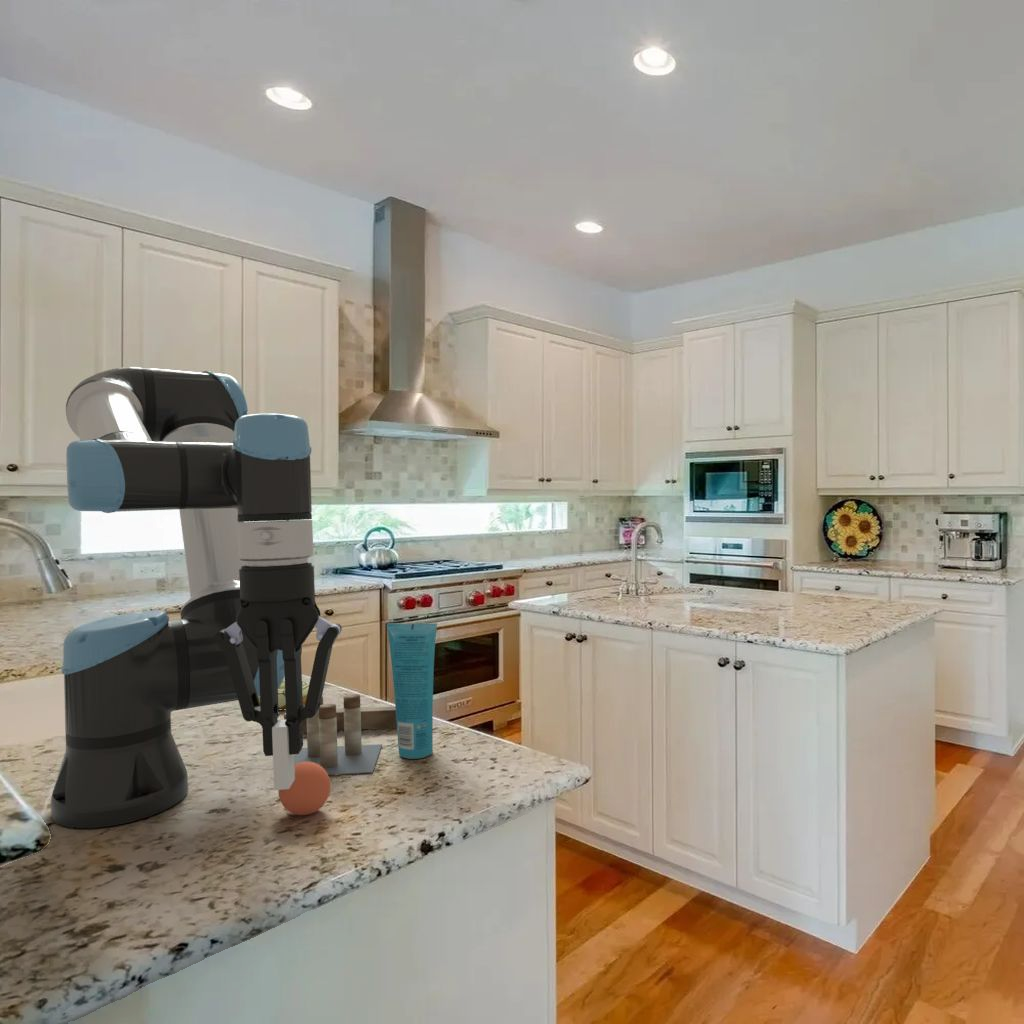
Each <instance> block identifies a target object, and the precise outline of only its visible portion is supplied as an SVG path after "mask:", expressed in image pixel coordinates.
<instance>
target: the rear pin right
mask: <svg viewBox="0 0 1024 1024" xmlns="http://www.w3.org/2000/svg"><path fill="white" fill-rule="evenodd" d="M323 704H324V696H322V699H321V704H320V705H323ZM306 740H307V741H306V745H307V747H306V748H308V756H309V757H319V756H320V741H319V710H318V711H317V712H316V714H315V715H314V716H313V717H312V718H308V719H307V732H306Z"/></svg>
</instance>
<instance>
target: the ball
mask: <svg viewBox="0 0 1024 1024" xmlns="http://www.w3.org/2000/svg"><path fill="white" fill-rule="evenodd" d="M294 768H295V780H294V782H293V783H292V785H291V786H290V788H289V789H282V790H277V791H278V798H279V801H280V803H281V805H282V807H284V809H285V810H286V811H288V812H289V813H290V814H293V815H296V816H307V815H310V814H313V813H315V812H317V811H318V810H320V809H321V808H322V807H323V806H324V805H325V804H326V802H327V800H328V799H329V795H330V792H331V787H332V786H331V779H330V775H329V776H328V774H327V772H326V771H325V769H324V768H323V767H322V766H320V765H319V764H316V763H314V762H300V763H297V764H295V765H294Z"/></svg>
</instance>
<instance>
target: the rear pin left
mask: <svg viewBox="0 0 1024 1024" xmlns="http://www.w3.org/2000/svg"><path fill="white" fill-rule="evenodd" d="M342 700H343V709H344V731H343V732H344V746H345V754H346V755H358V754H360V753H361V752H362V745H363V744H362V730H361V708H362V707H361V695H360V694H357V693H356V694H355V693H354V694H351V693H350V694H346V695H343V699H342Z"/></svg>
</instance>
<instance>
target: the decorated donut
mask: <svg viewBox="0 0 1024 1024" xmlns="http://www.w3.org/2000/svg"><path fill="white" fill-rule="evenodd" d="M309 683H310V682H308V681H303V680H302V696H303V705H305V703H306V698H307V693H308V688H309ZM258 699H259V702H260V696H258ZM278 709H286V700H285V680H283V682H282V684H281V685H280V687H279V688H278Z"/></svg>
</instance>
